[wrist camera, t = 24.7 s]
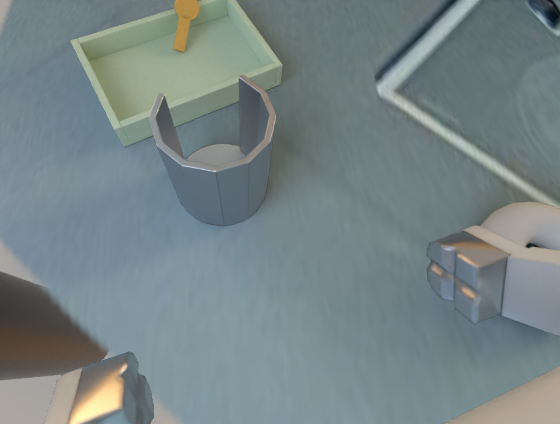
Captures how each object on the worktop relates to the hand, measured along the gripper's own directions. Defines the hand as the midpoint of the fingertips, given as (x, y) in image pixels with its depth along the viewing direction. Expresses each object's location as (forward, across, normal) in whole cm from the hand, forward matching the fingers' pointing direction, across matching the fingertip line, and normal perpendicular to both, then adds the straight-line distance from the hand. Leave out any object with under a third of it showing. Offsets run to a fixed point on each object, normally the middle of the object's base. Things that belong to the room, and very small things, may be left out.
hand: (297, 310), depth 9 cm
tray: (+30, -1, -5) cm, 30 cm away
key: (+30, -2, -10) cm, 32 cm away
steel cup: (+21, -1, +3) cm, 21 cm away
